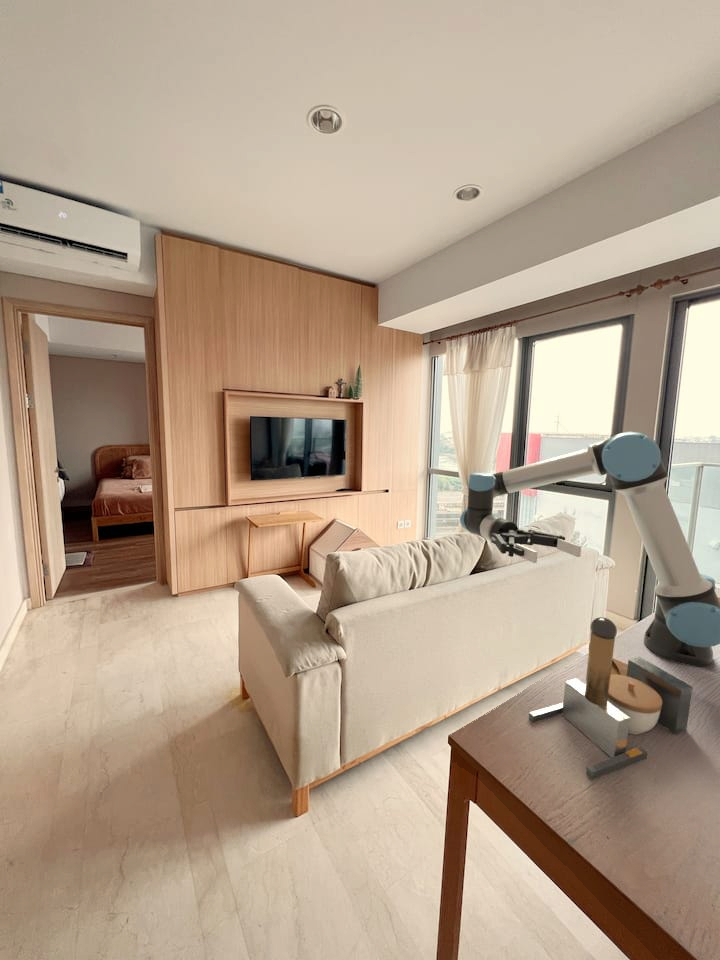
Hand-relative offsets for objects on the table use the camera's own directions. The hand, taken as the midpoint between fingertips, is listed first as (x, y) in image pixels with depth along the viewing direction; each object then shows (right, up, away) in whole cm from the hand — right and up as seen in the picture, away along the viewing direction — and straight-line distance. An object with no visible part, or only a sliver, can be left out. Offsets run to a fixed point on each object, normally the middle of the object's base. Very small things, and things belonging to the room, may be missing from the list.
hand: (558, 554), depth 94 cm
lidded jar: (+9, -34, -10) cm, 37 cm away
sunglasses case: (+19, -33, +2) cm, 38 cm away
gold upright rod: (0, -34, -14) cm, 37 cm away
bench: (+5, -34, -12) cm, 37 cm away
